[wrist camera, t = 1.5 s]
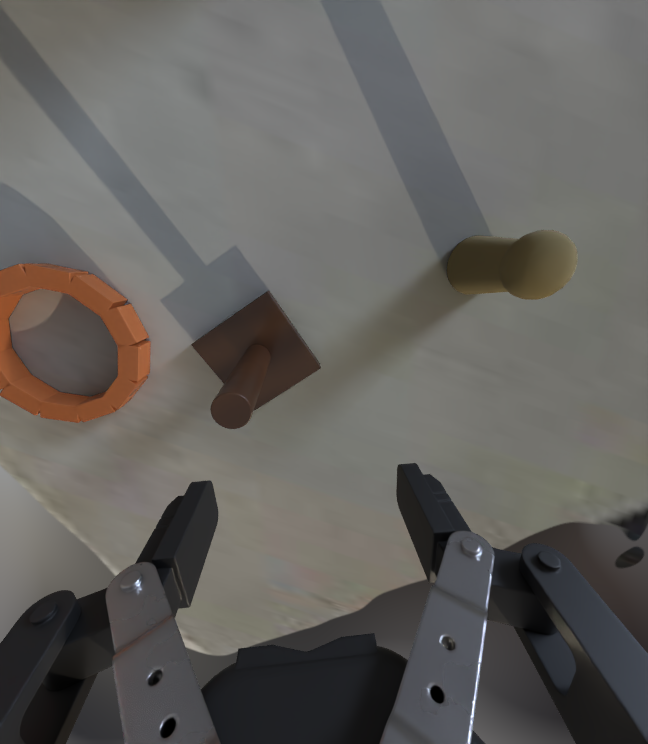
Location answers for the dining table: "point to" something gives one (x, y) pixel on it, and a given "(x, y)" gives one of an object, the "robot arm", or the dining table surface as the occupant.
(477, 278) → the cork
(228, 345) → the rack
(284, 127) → the dining table surface
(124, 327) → the hoop
